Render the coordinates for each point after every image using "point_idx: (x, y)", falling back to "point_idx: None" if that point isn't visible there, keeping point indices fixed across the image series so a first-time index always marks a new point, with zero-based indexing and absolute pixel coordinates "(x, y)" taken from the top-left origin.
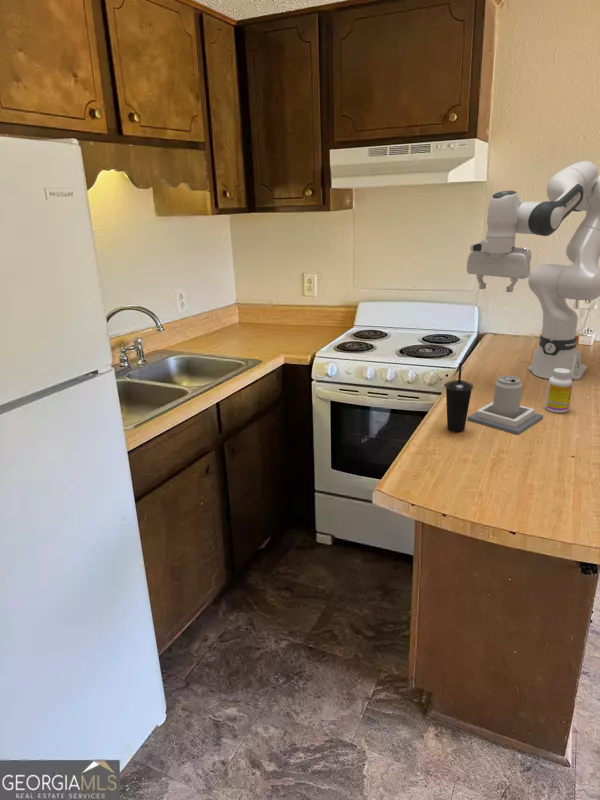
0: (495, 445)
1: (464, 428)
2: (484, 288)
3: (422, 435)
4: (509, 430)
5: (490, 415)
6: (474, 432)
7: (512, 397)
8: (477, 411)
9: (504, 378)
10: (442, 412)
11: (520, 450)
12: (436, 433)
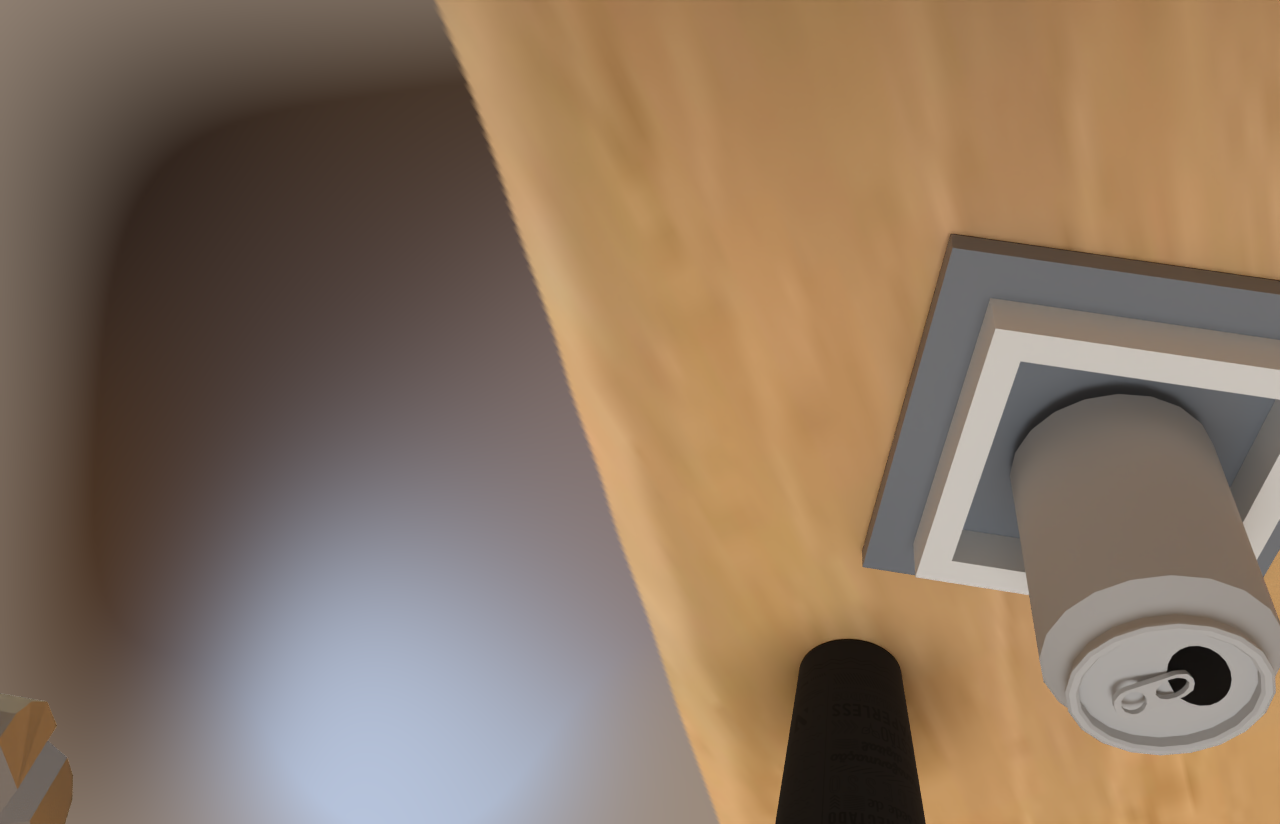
0: (1121, 749)
1: (902, 681)
2: (41, 738)
3: (725, 780)
4: None
5: (1026, 590)
6: (964, 668)
7: (1198, 655)
8: (923, 574)
9: (1125, 693)
10: (663, 512)
11: (1266, 750)
12: (777, 743)
